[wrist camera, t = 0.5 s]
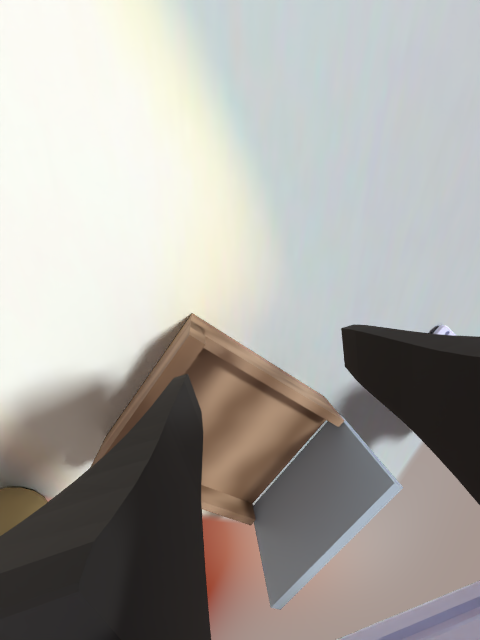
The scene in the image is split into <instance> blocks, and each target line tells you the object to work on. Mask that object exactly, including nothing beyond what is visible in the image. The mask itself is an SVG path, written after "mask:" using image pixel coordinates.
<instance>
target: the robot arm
mask: <svg viewBox="0 0 480 640" xmlns="http://www.w3.org/2000/svg"><path fill="white" fill-rule="evenodd" d="M341 330H342V340H343V351H344V361H345V367H346V368H347V369H348V371H349V372H350V373H351V374H352V376H353V377H354V378H355V379H356V380H357V381H358V382H359V383H360V384H361V385H362V386H363V387H364V388H365V389H366V390H368V391H369V392H370V393H371V394H372V395H373V396H374V397H376V398H377V399H378V400H379V401H380V402H381V403H382V404H384V405H385V406H386V407H387V408H388V409H389V410H390V411H392V412H393V413H394V414H395V415H396V416H397V417H399V418H400V419H401V420H402V421H403V422H404V423H405V424H406V425H407V426H408V427H409V428H410V429H412V430H413V432H414V433H415V434H416V435H417V436H418V437H419V438H420V439H421V440H422V441H423V442H424V443H425V444H426V445H427V446H428V447H429V448H430V449H431V450H432V451H433V452H434V454H435V455H436V456H437V457H438V458H439V459H440V460H441V461H442V462H443V464H444V465H445V466H446V467H447V468H448V469H449V470H450V471H451V472H452V473H453V475H454V476H455V477H456V478H457V479H458V480H459V481H460V482H461V484H462V485H463V486H464V487H465V488H466V489H467V491H468V492H469V493H470V494H471V495H472V497H473V498H474V499H475V500H476V501H477V502H478V504H479V505H480V337H472V336H456V334H455V333H454V332H453V331H452V330H451V329H450V328H449V327H447V326H445V325H441V326H439V327H438V328H437V329H436V330H435V332H434V333H433V334H430V333H421V332H413V331H405V330H397V329H390V328H383V327H376V326H368V325H351V326H348V327H344V328H341ZM202 457H203V422H202V412H201V408H200V406H199V403H198V400H197V397H196V395H195V392H194V389H193V386H192V384H191V381H190V378H189V375H188V374H185V375H181V376H178V377H175V378H173V379H172V381H171V382H170V383H169V384H168V386H167V387H166V388H165V389H164V391H163V392H162V393H161V395H160V396H159V397H158V398H157V400H156V401H155V402H154V403H153V405H152V406H151V407H150V408H149V410H148V411H147V412H146V413H145V414H144V415H143V416H142V418H141V419H140V420H139V421H138V422H137V423H136V425H135V426H134V427H133V428H132V429H131V430H130V431H129V432H128V433H127V434H126V435H125V436H124V437H123V438H122V439H121V440H120V441H119V442H118V443H117V444H116V445H115V446H114V447H113V448H112V449H111V450H110V451H109V452H108V453H107V454H106V455H105V456H103V457H102V458H101V459H100V460H99V461H98V462H97V463H95V464H94V465H93V466H92V467H91V468H90V469H88V470H87V471H86V472H85V473H84V474H83V475H82V476H80V477H79V478H78V479H77V480H76V481H74V482H73V483H72V484H71V485H69V486H68V487H67V488H66V489H64V490H63V491H62V492H61V493H59V494H58V495H57V496H55V497H54V498H53V499H51V500H50V501H49V502H47V503H46V504H45V505H43V506H42V507H41V508H40V509H38V510H37V511H36V512H34V513H33V514H31V515H30V516H29V517H27V518H26V519H24V520H23V521H22V522H20V523H19V524H17V525H16V526H14V527H13V528H12V529H10V530H9V531H7V532H6V533H4V534H3V535H1V536H0V640H211V634H210V623H209V611H208V598H207V586H206V574H205V558H204V542H203V526H202V506H201V482H202ZM337 640H480V580H479V581H477V582H475V583H472V584H470V585H467V586H465V587H462V588H460V589H458V590H455V591H453V592H451V593H448V594H446V595H443V596H441V597H438V598H436V599H434V600H431V601H429V602H426V603H424V604H422V605H419V606H416V607H414V608H412V609H409V610H407V611H404V612H402V613H399V614H397V615H395V616H392V617H390V618H387V619H385V620H382V621H380V622H378V623H375V624H373V625H370V626H368V627H366V628H363V629H361V630H358V631H356V632H353V633H351V634H348V635H346V636H344V637H341V638H339V639H337Z"/></svg>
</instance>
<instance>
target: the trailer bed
mask: <svg viewBox="0 0 480 640" xmlns="http://www.w3.org/2000/svg"><path fill="white" fill-rule="evenodd" d="M185 374H188V375H189V378H190V381H191V384H192V386H193V389H194V392H195V395H196V397H197V400H198V403H199V406H200V408H201V412H202V422H203V457H202V482H201V506H202V509H203V510H206V511H209V512H212V513H215V514H218V515H221V516H224V517H227V518H230V519H233V520H236V521H239V522H242V523H246V524H249V525H252V523H253V522H254V521H255V520H256V519H255V514H254V509H253V504H252V503H253V502H254V501H255V500H256V499H257V498H258V497H259V496H260V494H261V493H262V492H263V491H264V490H265V489H266V488H267V486H268V485H269V484H270V483H271V482H272V481H273V480H274V478H275V477H276V476H277V475H278V474H279V473H280V472H281V470H282V469H283V468H284V467H285V466H286V465H287V464H288V463H289V461H290V460H291V459H292V458H293V457H294V456H295V455H296V453H297V452H298V451H299V450H300V449H301V448H302V447H303V445H304V444H305V443H306V442H307V441H308V440H309V439H310V438H311V436H312V435H313V434H314V433H315V432H316V431H317V430H318V428H319V427H320V426H321V425H322V424H323V423H324V422H325V420H327V421H329V422H331V423H332V424H334V425H336V426H337V427H339V426H340V425H341V424H342V423H343V422H344V419H343V418H342V417H341V416H340V415H339V413H338V412H337V411H336V410H335V409H334V408H333V406H332V405H331V404H330V403H329V402H328V400H327V399H326V398H325V397H324V396H323V395H321V394H319V393H318V392H316V391H315V390H313V389H311V388H310V387H308V386H307V385H305V384H303V383H302V382H300V381H299V380H297V379H296V378H294V377H292V376H291V375H289V374H288V373H286V372H284V371H283V370H281V369H280V368H278V367H277V366H275V365H273V364H272V363H270V362H269V361H267V360H265V359H264V358H262V357H261V356H259V355H258V354H256V353H254V352H253V351H251V350H250V349H248V348H246V347H245V346H243V345H242V344H240V343H238V342H237V341H235V340H234V339H232V338H231V337H229V336H227V335H226V334H224V333H223V332H221V331H219V330H218V329H216V328H215V327H213V326H212V325H210V324H208V323H207V322H205V321H204V320H202V319H200V318H199V317H197V316H196V315H194V314H193V313H192V314H191V315H190V317H189V318H188V320H187V321H186V323H185V324H184V325H183V327H182V328H181V330H180V331H179V333H178V334H177V335H176V337H175V338H174V340H173V341H172V343H171V344H170V345H169V347H168V348H167V350H166V351H165V353H164V354H163V356H162V357H161V358H160V360H159V361H158V363H157V364H156V366H155V367H154V368H153V370H152V371H151V373H150V374H149V376H148V377H147V378H146V380H145V381H144V383H143V384H142V386H141V387H140V388H139V390H138V391H137V393H136V394H135V396H134V397H133V399H132V400H131V401H130V403H129V404H128V406H127V407H126V409H125V410H124V411H123V413H122V414H121V416H120V417H119V419H118V420H117V421H116V423H115V424H114V426H113V427H112V429H111V430H110V431H109V433H108V434H107V436H106V438H105V440H104V442H103V444H102V446H101V448H100V450H99V452H98V454H97V456H96V458H95V459H94V461H93V463H92V465H91V467H92V466H93V465H94V464H95V463H97V462H98V461H99V460H100V459H101V458H102V457H103V456H105V455H106V454H107V453H108V452H109V451H110V450H111V449H112V448H113V447H114V446H115V445H116V444H117V443H118V442H119V441H120V440H121V439H122V438H123V437H124V436H125V435H126V434H127V433H128V432H129V431H130V430H131V429H132V428H133V427H134V426H135V425H136V423H137V422H138V421H139V420H140V419H141V418H142V416H143V415H144V414H145V413H146V412H147V411H148V410H149V408H150V407H151V406H152V405H153V403H154V402H155V401H156V400H157V398H158V397H159V396H160V395H161V393H162V392H163V391H164V389H165V388H166V387H167V386H168V384H169V383H170V382H171V381H172V379H173V378H175V377H178V376H181V375H185ZM91 467H90V468H91Z"/></svg>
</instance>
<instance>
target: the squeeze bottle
mask: <svg viewBox="0 0 480 640" xmlns="http://www.w3.org/2000/svg"><path fill="white" fill-rule="evenodd" d="M46 503H47V500H46V499H45V497H43V496H42V495H40V494H38V493H37V492H35V491H32V490H28V489H24V488H20V487H17V488H2V489H0V536H1V535H3V534H4V533H6V532H7V531H9V530H10V529H12V528H13V527H14V526H16V525H17V524H19V523H20V522H22V521H23V520H24V519H26V518H27V517H29V516H30V515H31V514H33V513H34V512H36V511H37V510H38V509H40V508H41V507H42V506H43V505H45V504H46Z"/></svg>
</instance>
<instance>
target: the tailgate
mask: <svg viewBox="0 0 480 640" xmlns="http://www.w3.org/2000/svg"><path fill="white" fill-rule="evenodd" d="M340 416H341V415H340ZM341 417H342V418H343V419H344V417H343V416H341ZM402 488H403V487H402V486H401V485H400V483H399V482H398V481H397V480H396V479H395V477H394V476H393V475H392V474H391V473H390V472H389V470H388V469H387V468H386V467H385V466H384V464H383V463H382V462H381V461H380V460H379V459H378V457H377V456H376V455H375V454H374V453H373V452H372V450H371V449H370V448H369V447H368V446H367V444H366V443H365V442H364V441H363V440H362V439H361V437H360V436H359V435H358V434H357V433H356V432H355V430H354V429H353V428H352V427H351V426H350V425H349V423H348V422H347V421H346V420H345V419H344V422H343V423H342V424H341V425H340V426H339V427H337V426H336V425H334V424H332V423H331V422H329V421H328V422H327V423H326V424H325V425H324V426H323V427H322V429H321V430H320V431H319V432H318V433H317V434H316V435H315V437H314V438H313V439H312V440H311V441H310V442H309V443H308V444H307V446H306V447H305V448H304V449H303V450H302V451H301V452H300V454H299V455H298V456H297V457H296V458H295V459H294V460H293V461H292V463H291V464H290V465H289V466H288V467H287V468H286V469H285V471H284V472H283V473H282V474H281V475H280V476H279V477H278V478H277V480H276V481H275V482H274V483H273V484H272V485H271V486H270V488H269V489H268V490H267V491H266V492H265V493H264V494H263V496H262V497H261V498H260V499H259V500H258V501H257V502H256V503H255V505H254V506H253V509H254V514H255V519H256V520H255V521H254V525H255V530H256V535H257V540H258V545H259V551H260V556H261V560H262V566H263V571H264V576H265V581H266V586H267V591H268V596H269V601H270V607H271V608H275V609H282V608H283V607H284V606H285V605H286V604H287V602H289V601H290V600H291V599H292V598H293V597H294V596H295V595H296V594H297V593H298V592H299V590H301V589H302V588H303V587H304V586H305V585H306V584H307V583H308V582H309V581H310V580H311V579H312V578H313V577H314V576H315V575H316V574H317V573H318V572H319V571H320V570H321V569H322V568H323V567H324V566H325V565H326V564H327V563H328V562H329V561H330V560H331V559H332V558H333V557H334V556H335V555H336V554H337V553H338V552H339V551H340V550H341V549H342V548H343V547H344V546H345V545H346V544H347V543H348V542H349V541H350V540H351V539H352V538H353V537H354V536H355V535H356V534H357V533H358V532H359V531H360V530H361V529H362V528H363V527H364V526H365V525H366V524H367V523H368V522H369V521H370V520H371V519H372V518H373V517H374V516H375V515H376V514H377V513H378V512H379V511H380V510H381V509H382V508H383V507H384V506H385V505H386V504H387V503H388V502H389V501H390V500H391V499H392V498H393V497H394V496H395V495H396V494H397V493H398V492H399V491H400V490H401V489H402Z"/></svg>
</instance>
